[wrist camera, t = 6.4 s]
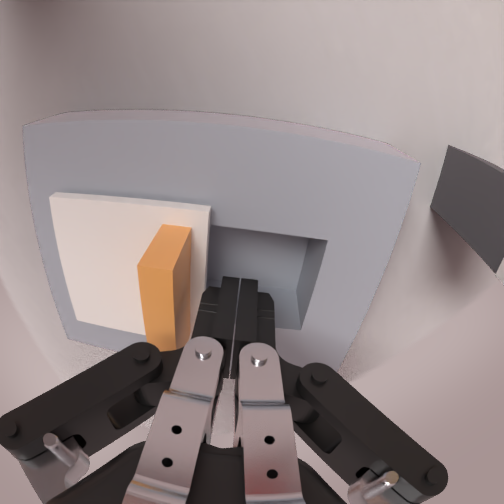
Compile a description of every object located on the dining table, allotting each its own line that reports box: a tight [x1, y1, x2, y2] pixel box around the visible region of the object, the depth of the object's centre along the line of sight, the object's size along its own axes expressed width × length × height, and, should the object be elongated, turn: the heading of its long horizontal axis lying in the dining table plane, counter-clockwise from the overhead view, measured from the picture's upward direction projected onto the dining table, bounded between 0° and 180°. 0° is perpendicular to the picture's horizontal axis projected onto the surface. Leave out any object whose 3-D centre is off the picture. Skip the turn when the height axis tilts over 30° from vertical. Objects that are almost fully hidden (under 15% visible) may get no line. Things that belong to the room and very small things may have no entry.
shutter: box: [49, 192, 211, 352], centre depth 12 cm, size 8×8×4 cm
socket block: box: [23, 110, 421, 372], centre depth 16 cm, size 14×18×4 cm
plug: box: [430, 145, 504, 286], centre depth 12 cm, size 4×4×8 cm
